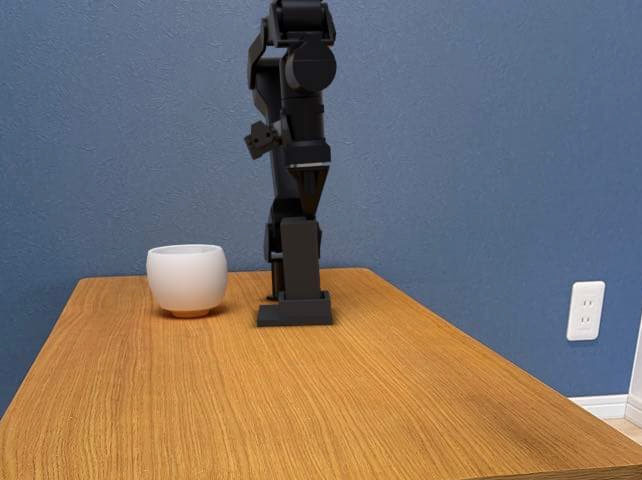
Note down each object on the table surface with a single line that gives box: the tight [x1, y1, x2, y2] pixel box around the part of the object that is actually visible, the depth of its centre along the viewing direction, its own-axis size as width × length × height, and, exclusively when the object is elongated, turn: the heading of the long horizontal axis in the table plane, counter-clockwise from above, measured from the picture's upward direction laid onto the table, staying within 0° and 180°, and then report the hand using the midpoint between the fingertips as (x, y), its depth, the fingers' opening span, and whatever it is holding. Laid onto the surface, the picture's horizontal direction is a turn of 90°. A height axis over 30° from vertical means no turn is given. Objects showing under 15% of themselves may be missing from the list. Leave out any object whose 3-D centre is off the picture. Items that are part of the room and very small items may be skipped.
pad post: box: [280, 215, 322, 300], centre depth 124 cm, size 5×5×13 cm
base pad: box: [256, 289, 333, 327], centre depth 129 cm, size 11×11×4 cm
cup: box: [145, 243, 229, 319], centre depth 132 cm, size 12×12×10 cm
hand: (309, 218), depth 124 cm, fingers open, 8 cm apart
